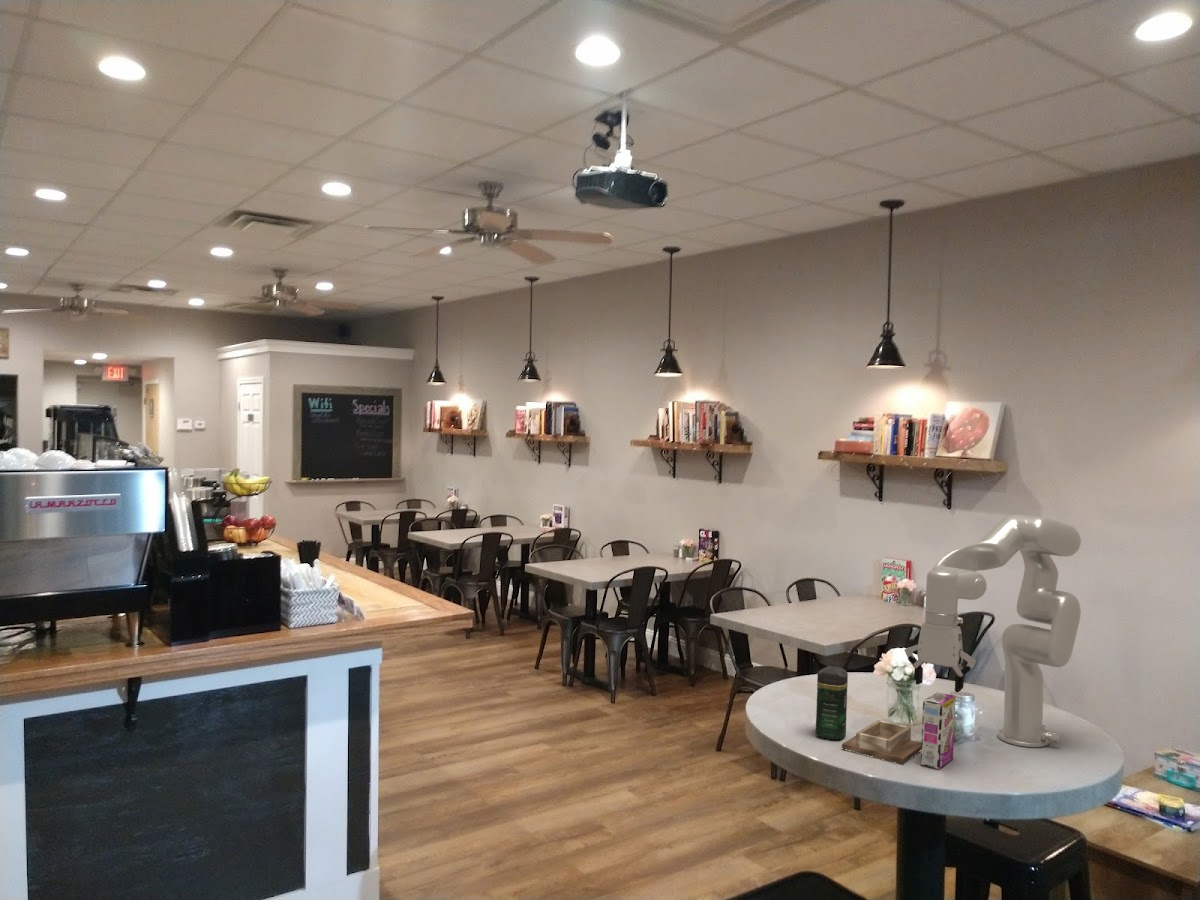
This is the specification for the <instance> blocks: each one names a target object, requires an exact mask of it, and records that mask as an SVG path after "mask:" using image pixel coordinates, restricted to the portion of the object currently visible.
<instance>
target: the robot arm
mask: <svg viewBox="0 0 1200 900" xmlns="http://www.w3.org/2000/svg"><path fill="white" fill-rule="evenodd" d="M1081 541H1082V540H1081V535H1080V532H1079V531H1078V530H1077V529H1076V528H1075V527H1074V526H1072V525H1069V524H1067V523H1063V522H1060V521H1058V520H1055V519H1051V518H1048V517H1043V516H1035V515H1025V514H1009V515H1006V516H1005V517H1003V518H1002V519H1001V520H1000V521H999V522H998V523H997V524H996V525H994V526H993V527H992V528H991V530H990V531H988V533H987V534H986V535H984V536H983V537H982V538H981V540H979V541H977V542H974V543H971V544H968V545H966V546H963V547H961V548H958V549H956V550H953V551H951V552H949V553H947V554H946V555H945V556H944V557H942V558H941V559H940V560H939V561H938V562H937V563H936V564H935V565H934V566H933V568H932V569H931V570H929V571H928V572H927V575H926V586H925V614H924V615H925V616H924V622H922V623H921V627H920V632H919V636H918V637H919V638H918V644H915V645H913V646H909V647H906V648H905V649H904V652H905V655H906V658H907V660H908V661H909V663H910V664H911V665H912V667H913V668H914V669H913V671H914V675H913V679H914V681H915V685H920V684H922V683H923V680H924V679H923V678H924V676H923V675H924V668H923V667H922V665H924V664H930V665H936V666H941V667H946V668H952V669H953V670H954V672H955V673H956V675H955V676H954V692H955V693H959V692H961V691H962V690H963V689H964V683H965V679H964V678H965V675H967V674H968V673H969V672H970V671H972V670H973V667H974V666H975V664H976V663H977V660H976V659H975V658H973V657H972V656H971V655H969V654H968V653H966V652H964V651H963V636H962V630H961V626H958V624H963V623H964V619H963V617H960V616H959V614H958V607H959V606H958V601H959V599H961V600H967V601H974V600H978V599H980V598H981V597H983V595H985V593H986V591H987V588H988V587H987V586H988V585H987V580H986V578H985V576H984V575H982V573H979V571H987V570H994V569H997V568H1001V567H1003V566H1005V565H1006V564H1007V563H1008V562H1009V561H1010V560H1011V559H1012V558H1013V557H1014V555H1015V554H1017V553H1018V551H1019V553H1020V555H1021V558H1022V560H1023V564H1024V572H1023V576H1022V581H1021V585H1020V588H1019V589H1020V590H1019V594H1018V598H1017V602H1016V603H1017V604H1016V612H1017V615H1018V616H1019V617H1020V618H1021V619H1023V620H1026V621H1030V622H1034V623H1039V624H1044V625H1048V626H1050V629H1049V628H1044V627H1039V626H1034V625H1029V624H1023V623H1013V624H1011V625H1008V626H1006V628H1005V629H1004V630H1003V633H1002V635H1001V644H1002V651H1003V657H1004V667H1005V668H1004V701H1003V703H1004V707H1003V713H1004V714H1003V729H1000V730H998V731H997V734H996V735H997V737H998V738H999V740H1001V741H1003V742H1005V743H1007V744H1011V745H1015V746H1018V747H1025V748H1026V747H1027V748H1043V747H1046V746H1048V745H1049V741H1053V742H1056V743H1060V741H1061V740H1060V739H1061V735H1060V734H1058V733H1057V732H1055V731H1050V730H1048V729H1046V725H1045V724H1043V716H1044V710H1043V709H1044V676H1043V672H1042V669H1041V667H1040V665H1043V666H1048V667H1054V668H1062V667H1065V666H1066V665H1067V664H1068V663H1069V662H1070V659H1071V658H1072V657H1071V656H1072V654H1073V650H1074V645H1075V642H1076V638H1077V633H1078V629H1079V624H1080V620H1081V612H1082V611H1081V605H1080V601H1079V600H1078V598H1077V597H1076V595H1074V594H1072V593H1070V592H1067V591H1061V590H1057V584H1058V580H1059V571H1058V567H1057V565H1056V563H1055V561H1054V560H1053V558H1052V557H1051V556H1056V557H1057V556H1058V557H1064V558H1065V557H1066V558H1067V557H1068V558H1069V557H1071V556H1074V555H1075V554H1076V553H1077V552H1078V551H1079V550H1080V547H1081ZM916 651H917V658H916V657H915V656H914V653H913V652H916ZM964 660H965V661H966V662H967V664H966V665H965V667H964V668H963V666H962V663H963V661H964ZM1039 664H1040V665H1039Z"/></svg>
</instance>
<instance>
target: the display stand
mask: <svg viewBox="0 0 1200 900" xmlns="http://www.w3.org/2000/svg"><path fill="white" fill-rule="evenodd" d="M911 733H912V727H911V726H908V725H907V726H906V725H901V724H896V723H893V722H888V721H884V720H880V719H877V720H875V721H874V722H872V723H870V724H869V725H867V726H865V727H863V728H862V729H860V730H858V731H857V732H856V733H855V736H853V737H851V738H849V739H848V740H846V741H845V742H843V743H842V744H841V749H842V748H843V749H847V750H851V751H854V752H858V753H861V754H866V755H869V756H873V757H876V758H875V759H877V758H880V759H879V760H881V759H884V760H883V761H885V760H887V761H886V762H889V761H892V762H891V763H893V762H896V763H895V764H897V763H899V764H898V765H902V764H903V765H904V763H905V762H906V763H907V762H909V761H910V760H911V759H912V758H911V757H912V756H914V755H915V754H917V753H918V752H919V751H920V750H921V745H922V741H918V740H913V739H911V736H912V735H911ZM919 753H920V752H919ZM919 753H918V754H919ZM861 754H860V755H861ZM918 754H917V755H918ZM869 756H868V757H869ZM915 756H916V755H915ZM915 756H914V757H915ZM873 757H872V758H873ZM910 758H911V759H910ZM909 759H910V760H909ZM908 760H909V761H908ZM906 763H905V764H906Z"/></svg>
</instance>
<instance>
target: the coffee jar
mask: <svg viewBox="0 0 1200 900" xmlns="http://www.w3.org/2000/svg"><path fill="white" fill-rule="evenodd" d="M848 674H849V673H848V672H847V670H845V669H844V668H843V667H841V666H835V665H833V666H832V665H828V666H826V667H823V668H821V669H820V670H819V671H818V673H817V675H816V676H817V679H816V685H817V686H816V712H815V713H816V714H815V717H816V718H815V735H816V736H817V737H819V738H822V737H823V738H822V739H824V738H827V739H826V740H828V739H832V740H838V739H840V740H842V739H843V738H844V737H845V736H846V734H847V709H848V707H847V706H848V678H849V677H848V676H849V675H848Z"/></svg>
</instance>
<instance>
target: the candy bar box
mask: <svg viewBox="0 0 1200 900" xmlns="http://www.w3.org/2000/svg"><path fill="white" fill-rule="evenodd" d="M956 699H957V698H956V695H953V694H948V693H942V692H936V693H934V694H932V695H931V696H929V697H927V698H925V699H923V701H922V720H921V721H922V724H921V725H922V727H921V728H922V729H921V742H922V745H921V752H920V766H922V765H925V766H924V767H926V766H929V767H928V768H930V767H932V768H931V769H934V768H935V769H934V770H941V769H942V768H943V767H944V766H945V765H947V764H948V763H950V762H951V761H952V760H953V759H954V748H955V747H954V744H955V724H956V723H955V722H956V721H955V720H956Z"/></svg>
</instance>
